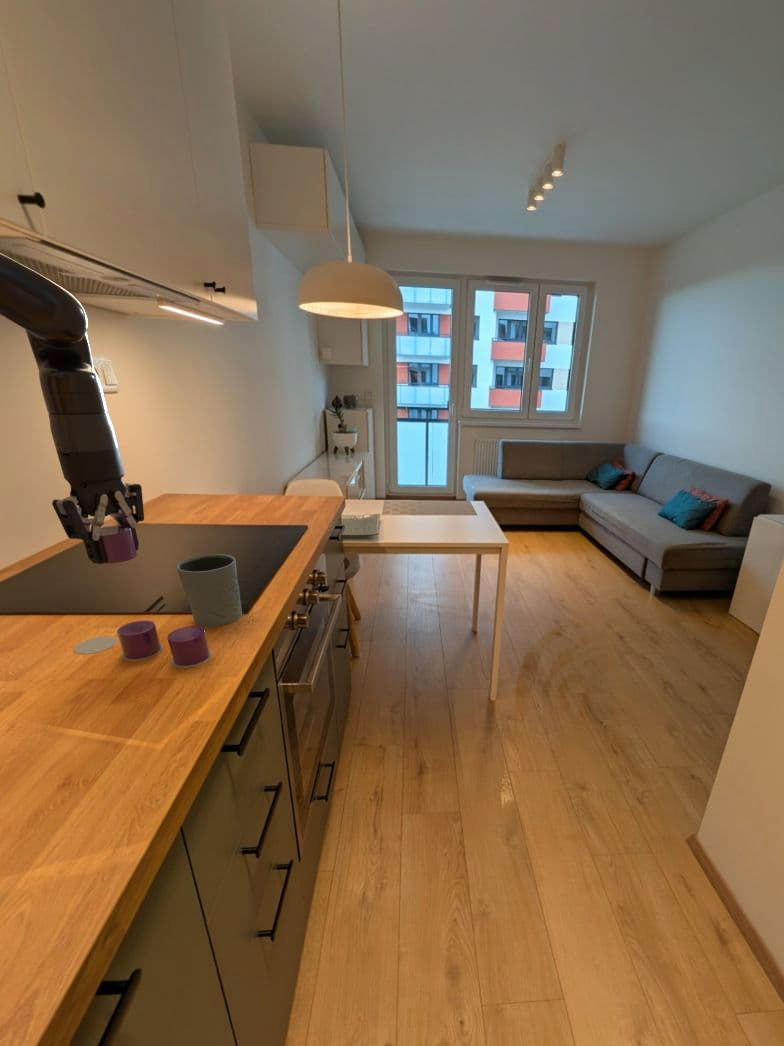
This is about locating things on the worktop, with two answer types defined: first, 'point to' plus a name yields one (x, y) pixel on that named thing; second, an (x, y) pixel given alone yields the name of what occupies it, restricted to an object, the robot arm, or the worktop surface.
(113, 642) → the mat
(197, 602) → the grey cylindrical pot
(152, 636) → the small purple cup
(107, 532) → the purple cylinder
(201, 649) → the purple canister
